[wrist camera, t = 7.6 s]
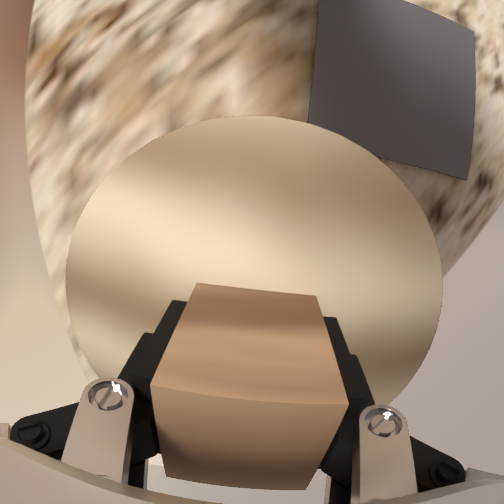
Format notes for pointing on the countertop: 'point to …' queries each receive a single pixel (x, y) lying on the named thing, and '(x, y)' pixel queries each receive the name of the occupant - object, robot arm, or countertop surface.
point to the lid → (254, 289)
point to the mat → (396, 82)
